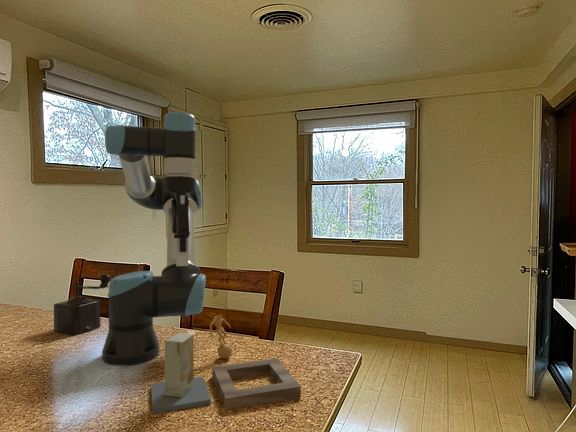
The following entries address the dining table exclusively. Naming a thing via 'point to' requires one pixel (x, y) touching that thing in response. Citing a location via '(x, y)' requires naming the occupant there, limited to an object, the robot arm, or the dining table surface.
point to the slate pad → (191, 399)
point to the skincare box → (179, 364)
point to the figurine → (224, 349)
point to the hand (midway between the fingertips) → (180, 261)
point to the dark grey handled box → (79, 311)
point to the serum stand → (254, 395)
